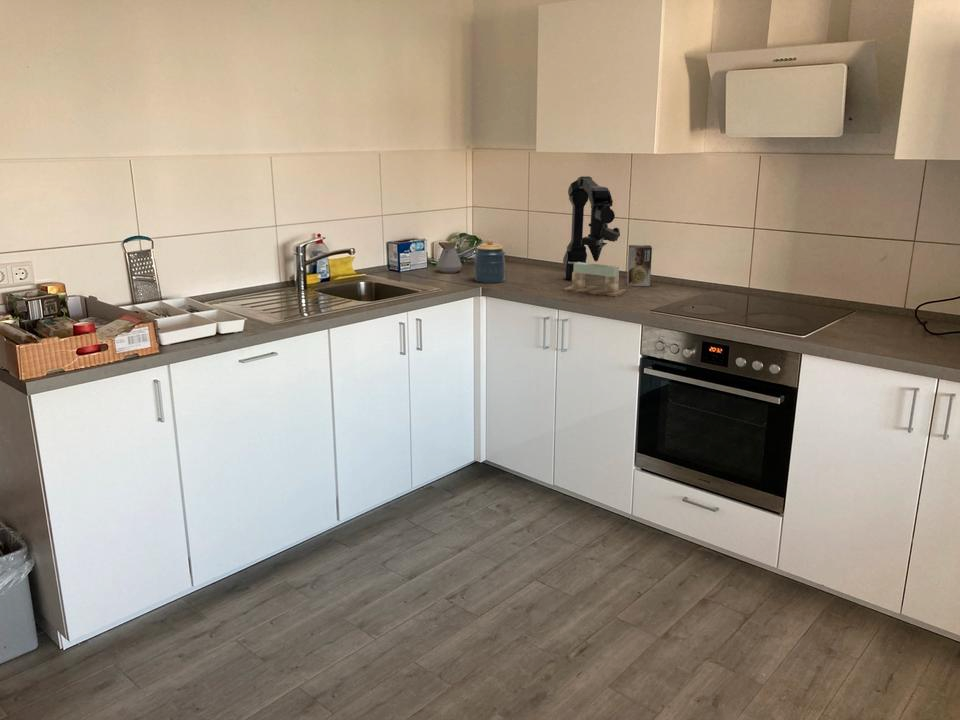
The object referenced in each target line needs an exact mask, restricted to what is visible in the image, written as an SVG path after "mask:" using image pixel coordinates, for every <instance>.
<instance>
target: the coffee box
mask: <svg viewBox="0 0 960 720" xmlns="http://www.w3.org/2000/svg"><path fill="white" fill-rule="evenodd" d="M627 254H628V255H627V257H628V258H627V272H626V273H627V274H626V285H627V286H628V287H650V286H651V275H652V274H651V272H652V257H653V256H652V255H653V247H652V245H650V244H649V245H647V244H641V245H640V244H629V245H628V253H627Z"/></svg>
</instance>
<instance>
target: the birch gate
mask: <svg viewBox="0 0 960 720" xmlns="http://www.w3.org/2000/svg"><path fill="white" fill-rule="evenodd" d="M604 280H605V284H604V286H596V285H587V284H586V274H585V273H577V272H573V273H572V280H571V285H569V286H566V287H564V288H563V290H565V291H564V292H568V291H574V292H573V293H577V292H582V293H581V294H586V293H591V294H590V295H596V294H599V295H598V296H605V295H607V296H606V297H614V296H617V297H618V296H621V295H622V294H624V293H627V289H623V288H619V284H620V283H619V281H620V275H619V276H616V277H608V276H605V279H604Z"/></svg>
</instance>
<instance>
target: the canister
mask: <svg viewBox="0 0 960 720" xmlns="http://www.w3.org/2000/svg"><path fill="white" fill-rule="evenodd" d="M503 249H504V246H502V245H501V244H500V243H496V242H495V243H494V240H493V239H492V238H488V239H486V242H485V243H480V244H479V245H477V246H476V251H475V252H474V255H475V259H474V281H475V282H478V283H483V284H497V283H502V282H505V278H506V274H505V272H506V268H505V267H506V259H505V255H506V252H505V251H504V250H503Z"/></svg>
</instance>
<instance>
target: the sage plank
mask: <svg viewBox="0 0 960 720" xmlns="http://www.w3.org/2000/svg"><path fill="white" fill-rule="evenodd" d="M573 272H577V273H585V275H592V276H593V275H594V276H600V277H601V276H602V277H606V276H608V277H616V276H619V277H620V275H619V274H620V266H615V265H614V266H613V265H608V264H607V265H605V264H599V263H598V264H597V263H591V262H590V263H589V262H586V263H582V262H577V263H574V269H573Z"/></svg>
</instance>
